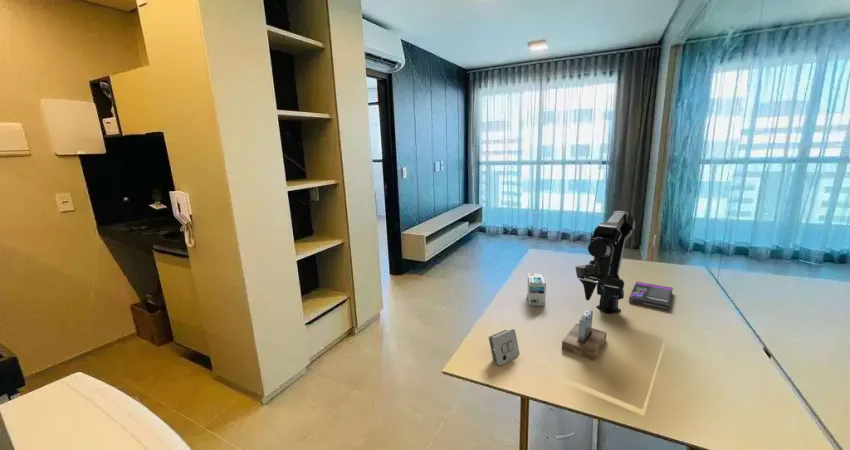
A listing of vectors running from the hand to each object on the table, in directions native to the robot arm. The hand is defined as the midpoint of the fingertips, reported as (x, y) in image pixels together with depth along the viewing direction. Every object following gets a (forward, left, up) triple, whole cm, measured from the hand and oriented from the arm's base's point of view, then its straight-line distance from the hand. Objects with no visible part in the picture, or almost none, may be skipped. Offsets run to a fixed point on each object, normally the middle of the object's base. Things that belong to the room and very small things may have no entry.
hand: (594, 302), depth 118 cm
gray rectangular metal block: (+9, +6, -11) cm, 15 cm away
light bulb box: (+3, -29, -12) cm, 32 cm away
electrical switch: (+37, +1, -12) cm, 39 cm away
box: (-43, -12, -13) cm, 47 cm away
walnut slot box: (+9, +6, -12) cm, 16 cm away
